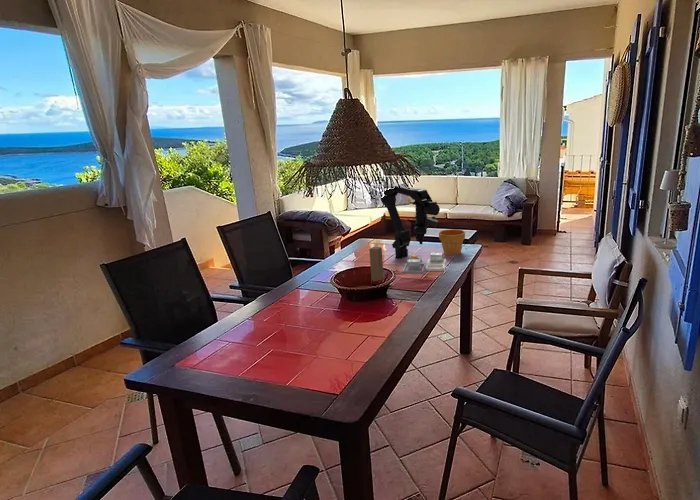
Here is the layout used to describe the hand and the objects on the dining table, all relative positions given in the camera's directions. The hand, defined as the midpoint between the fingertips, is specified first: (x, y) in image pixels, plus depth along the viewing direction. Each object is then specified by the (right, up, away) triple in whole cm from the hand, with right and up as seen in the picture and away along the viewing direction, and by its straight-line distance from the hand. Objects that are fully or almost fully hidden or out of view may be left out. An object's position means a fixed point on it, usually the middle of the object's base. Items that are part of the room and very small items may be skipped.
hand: (421, 241), depth 230 cm
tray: (-5, -15, -9) cm, 18 cm away
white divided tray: (+6, -13, -7) cm, 16 cm away
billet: (-5, -14, -10) cm, 18 cm away
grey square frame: (-4, -12, +2) cm, 12 cm away
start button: (-4, -10, +1) cm, 11 cm away
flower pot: (+19, -7, +13) cm, 24 cm away
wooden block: (-23, -21, -26) cm, 40 cm away
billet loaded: (+7, -11, -3) cm, 14 cm away
